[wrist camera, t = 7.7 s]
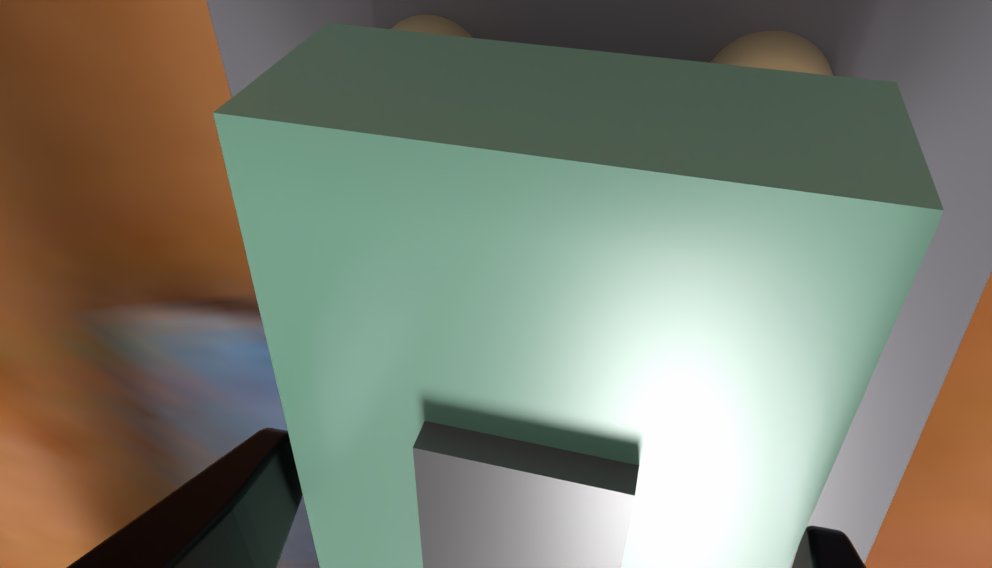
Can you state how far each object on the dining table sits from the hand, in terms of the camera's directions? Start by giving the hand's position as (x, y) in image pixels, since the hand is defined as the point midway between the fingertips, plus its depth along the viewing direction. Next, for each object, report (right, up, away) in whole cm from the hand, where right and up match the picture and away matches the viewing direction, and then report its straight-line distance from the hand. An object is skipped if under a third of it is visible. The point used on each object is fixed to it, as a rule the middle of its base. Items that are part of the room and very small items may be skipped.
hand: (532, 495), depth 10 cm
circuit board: (+1, +1, +2) cm, 2 cm away
